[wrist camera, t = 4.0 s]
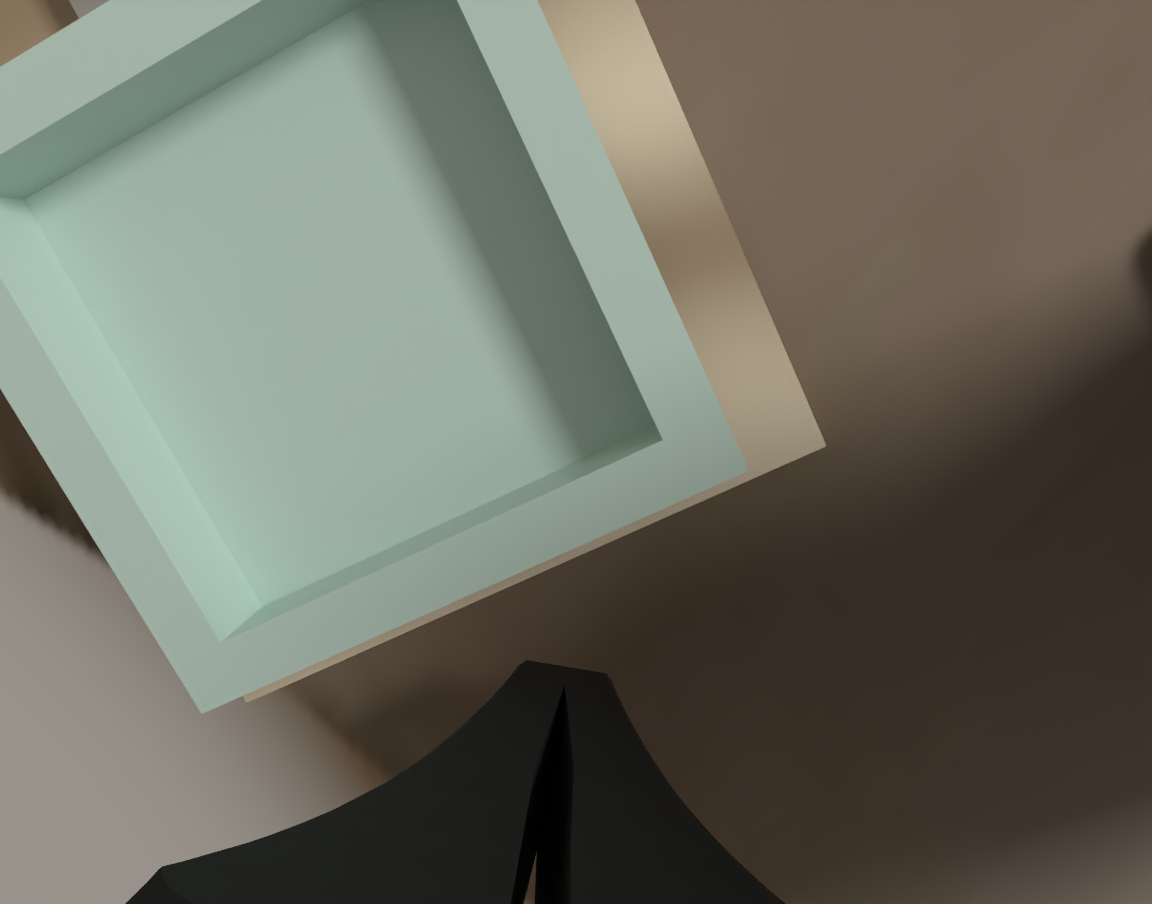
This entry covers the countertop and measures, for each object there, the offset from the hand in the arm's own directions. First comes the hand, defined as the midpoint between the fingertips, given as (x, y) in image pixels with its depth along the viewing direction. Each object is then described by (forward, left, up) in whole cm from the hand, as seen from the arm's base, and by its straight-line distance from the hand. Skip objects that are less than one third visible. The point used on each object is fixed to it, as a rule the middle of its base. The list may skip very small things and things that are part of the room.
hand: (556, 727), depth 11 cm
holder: (+7, 0, -1) cm, 7 cm away
